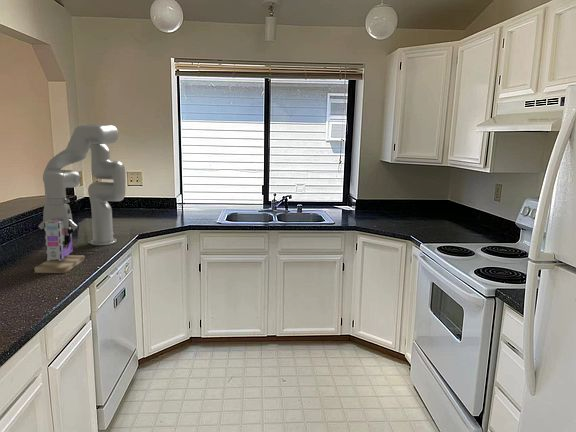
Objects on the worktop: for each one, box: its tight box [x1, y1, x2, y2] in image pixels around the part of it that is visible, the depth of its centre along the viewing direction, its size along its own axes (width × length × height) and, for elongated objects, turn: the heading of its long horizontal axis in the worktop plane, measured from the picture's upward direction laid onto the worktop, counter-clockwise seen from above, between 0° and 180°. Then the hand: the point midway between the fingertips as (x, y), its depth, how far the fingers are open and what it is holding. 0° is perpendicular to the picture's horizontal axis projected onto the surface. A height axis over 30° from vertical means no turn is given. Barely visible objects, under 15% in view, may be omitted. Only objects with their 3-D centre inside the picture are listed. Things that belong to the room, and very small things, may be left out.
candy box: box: [44, 220, 74, 261], centre depth 172 cm, size 14×6×16 cm, turn 9°
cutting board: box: [34, 254, 85, 274], centre depth 174 cm, size 18×12×2 cm, turn 3°
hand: (59, 243), depth 173 cm, fingers closed on candy box, 6 cm apart
